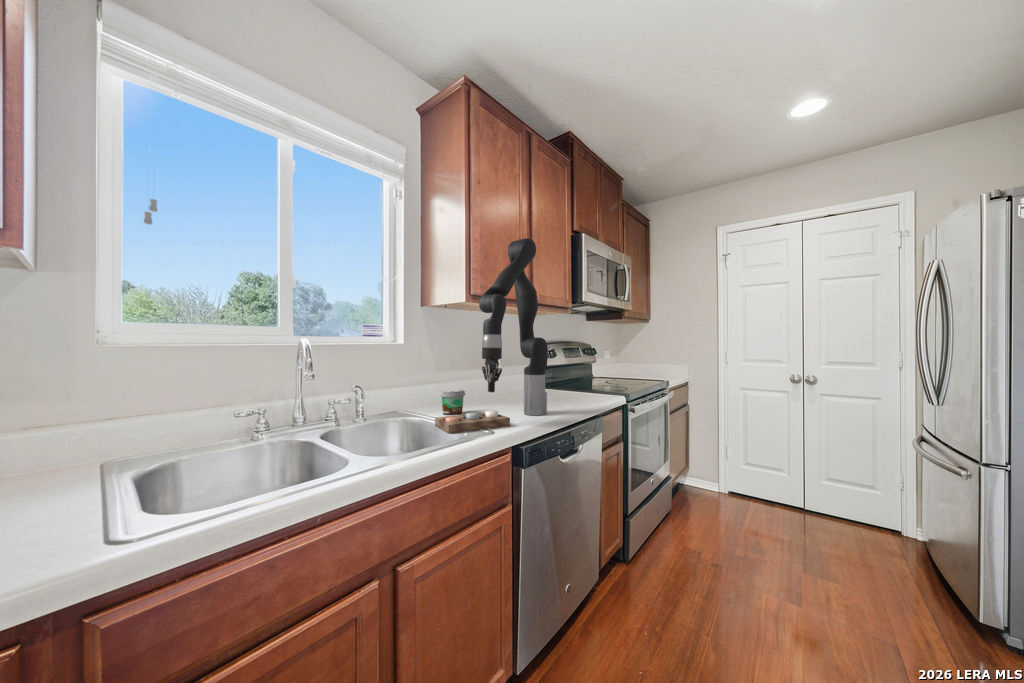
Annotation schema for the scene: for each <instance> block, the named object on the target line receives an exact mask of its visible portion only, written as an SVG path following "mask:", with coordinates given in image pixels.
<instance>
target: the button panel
mask: <svg viewBox="0 0 1024 683" xmlns="http://www.w3.org/2000/svg"><path fill="white" fill-rule="evenodd" d="M478 413H479V419H474V420H467V419H466V414H459V415H446V416H439V417H434V426H435V427H437V428H438V429H440V430H442V431H443V432H445V433H446V434H455V433H457V434H458V433H466V432H473V431H479V430H480V429H483V430H489V429H488V428H491V429H497V428H498V429H499V428H506V427H511V426H510V425H511V418H510V417H508V416H505V415H504V414H503V415H502V414H499V413H498V417H493V418H487V417H485V412H478ZM446 417H459V421H455V422H446V421H445V418H446ZM480 431H481V430H480Z"/></svg>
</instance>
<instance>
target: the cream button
mask: <svg viewBox="0 0 1024 683" xmlns="http://www.w3.org/2000/svg"><path fill="white" fill-rule="evenodd" d="M484 413H485V417H487V418H493V417H498V414H499V411H497V410H487V411H485V412H484Z"/></svg>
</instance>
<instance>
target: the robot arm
mask: <svg viewBox="0 0 1024 683" xmlns="http://www.w3.org/2000/svg"><path fill="white" fill-rule="evenodd" d="M536 254H537V245H536V243H535V241H534V240H533V239H532V238H529V237H525V238H521V239H518V240H517V239H516V240H514V241H511V242H510V243H509V244H508V247H507V255H508V260H509V264H508V265H507V266H506V267H505V268H503V270H502V271H500V272H499V274H498V276H496V277H497V278H496V279H495V280H494V283H493V284H492V285H491V286H490V287H489V288H488V289H487V290H486V291H485V292H484V293H483V294H482V295H481V297H480V299H479V302H478V304H479V305H478V306H479V309H480V311H481V312H483V313H485V314H491V315H490V317H489V318H487V319H484V320H483V324H482V341H481V344H482V345H481V358H482V359H483V360H485V361H484V366H481V370H482V371H481V372H482V373H483V377H484V380H485V381H487V391H488V393H495V391H496V389H495V388H496V384H495V383H496V382H498V381H499V379H500V376H501V374H502V371H503V368H501V367H500V363H499V360H501V359H502V356H503V354H502V350H503V339H502V324H503V321H504V317H505V313H506V309H507V300H506V298H505V297H507V296H508V295H509V294H510V292H511V290H512V288H513V286H514V291H515V292H514V293H515V302H516V308H517V309H516V310H517V317H518V325H519V326H518V327H519V346H520V352H521V354H522V356H523V357H525V358H526V359H530V363H529V364H528V365H527V366H525V367H524V368H523V414H524V415H526V416H542V415H545V414H548V392H547V391H546V370H547V366H548V356H549V354H548V353H549V346H548V343H547V341H546V339H545V338H543V337H538V336H537V337H535V332H534V324H535V320H536V316H537V313H538V310H539V301H538V293H537V290H536V288H535V286H534V285H533V283H532V282H531V281H530V279H529V278H528V277H527V274H526V272H525V269H526V268H527V267H528V265H529V264H530V263H531V262H532V261H533V259H534V258H535V256H536Z"/></svg>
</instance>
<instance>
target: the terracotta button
mask: <svg viewBox="0 0 1024 683" xmlns="http://www.w3.org/2000/svg"><path fill="white" fill-rule="evenodd" d="M445 417H446V418H445V421H446V422H455V421H459V417H447V416H445Z"/></svg>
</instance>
